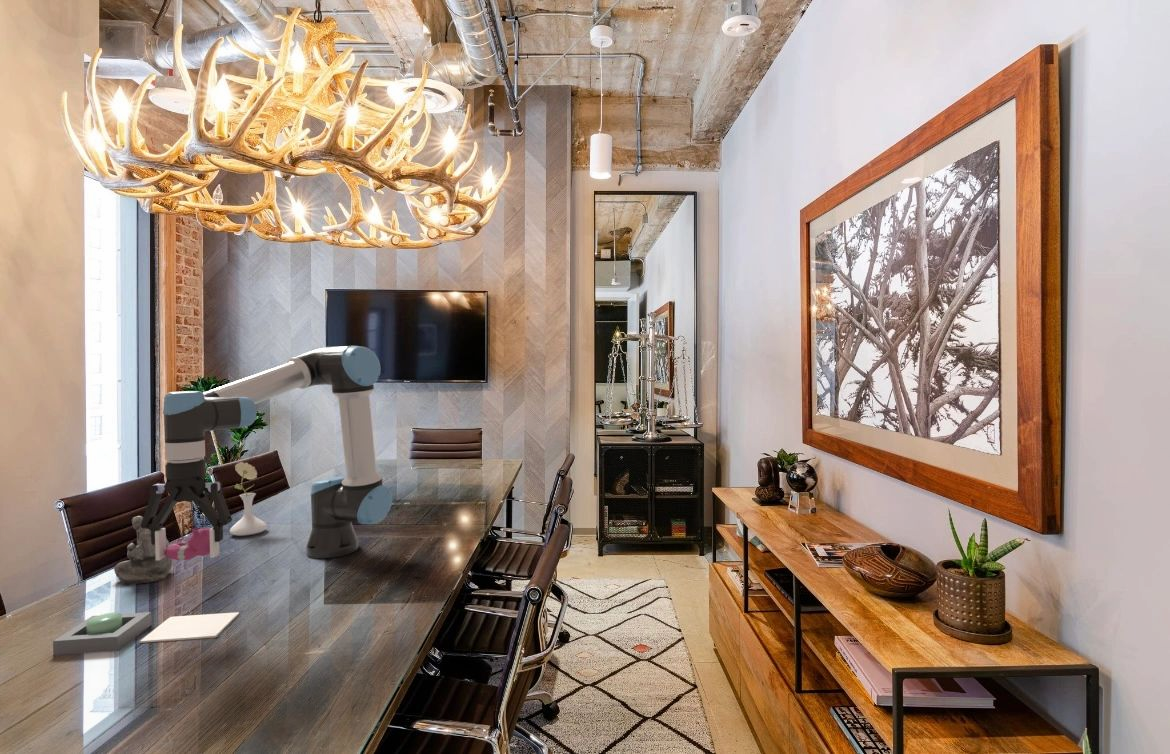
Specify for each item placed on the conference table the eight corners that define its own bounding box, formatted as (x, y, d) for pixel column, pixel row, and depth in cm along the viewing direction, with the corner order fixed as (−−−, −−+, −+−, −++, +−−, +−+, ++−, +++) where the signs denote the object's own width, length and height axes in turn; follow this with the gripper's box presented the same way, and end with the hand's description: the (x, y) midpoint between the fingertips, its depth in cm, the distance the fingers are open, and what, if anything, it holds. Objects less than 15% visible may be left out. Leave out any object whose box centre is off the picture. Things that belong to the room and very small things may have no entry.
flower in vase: (273, 531, 207) (272, 461, 206) (240, 540, 197) (238, 466, 196) (253, 526, 214) (252, 458, 213) (220, 534, 204) (218, 463, 203)
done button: (128, 624, 131) (128, 611, 131) (111, 637, 125) (110, 623, 125) (98, 626, 130) (98, 613, 130) (79, 639, 124) (79, 625, 124)
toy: (232, 546, 142) (222, 519, 136) (210, 578, 134) (198, 550, 129) (187, 540, 142) (174, 512, 136) (162, 571, 135) (148, 543, 129)
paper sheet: (239, 613, 140) (239, 612, 140) (215, 637, 128) (215, 635, 128) (170, 618, 138) (170, 616, 138) (139, 642, 126) (139, 641, 126)
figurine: (107, 581, 161) (104, 516, 161) (152, 567, 172) (150, 506, 172) (138, 588, 156) (136, 521, 156) (182, 573, 167) (180, 510, 167)
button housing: (151, 624, 134) (150, 612, 134) (118, 650, 123) (117, 636, 122) (92, 629, 133) (92, 615, 132) (53, 655, 121) (52, 641, 121)
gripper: (247, 455, 137) (249, 549, 138) (139, 458, 134) (142, 554, 135) (232, 461, 130) (235, 560, 131) (118, 464, 127) (121, 565, 127)
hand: (188, 557), depth 133 cm, fingers closed on toy, 10 cm apart
